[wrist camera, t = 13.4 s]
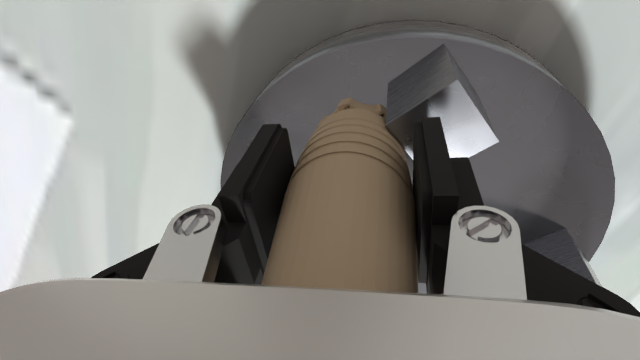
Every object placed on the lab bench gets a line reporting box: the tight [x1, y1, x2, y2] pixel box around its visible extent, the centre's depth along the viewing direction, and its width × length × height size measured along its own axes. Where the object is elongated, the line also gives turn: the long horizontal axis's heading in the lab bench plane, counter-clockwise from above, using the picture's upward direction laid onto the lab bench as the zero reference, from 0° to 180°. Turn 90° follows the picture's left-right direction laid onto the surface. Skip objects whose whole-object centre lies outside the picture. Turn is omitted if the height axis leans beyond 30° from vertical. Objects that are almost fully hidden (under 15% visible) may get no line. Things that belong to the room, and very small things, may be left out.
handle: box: [261, 97, 418, 293], centre depth 10 cm, size 5×6×15 cm
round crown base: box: [221, 20, 615, 293], centre depth 20 cm, size 20×20×7 cm
